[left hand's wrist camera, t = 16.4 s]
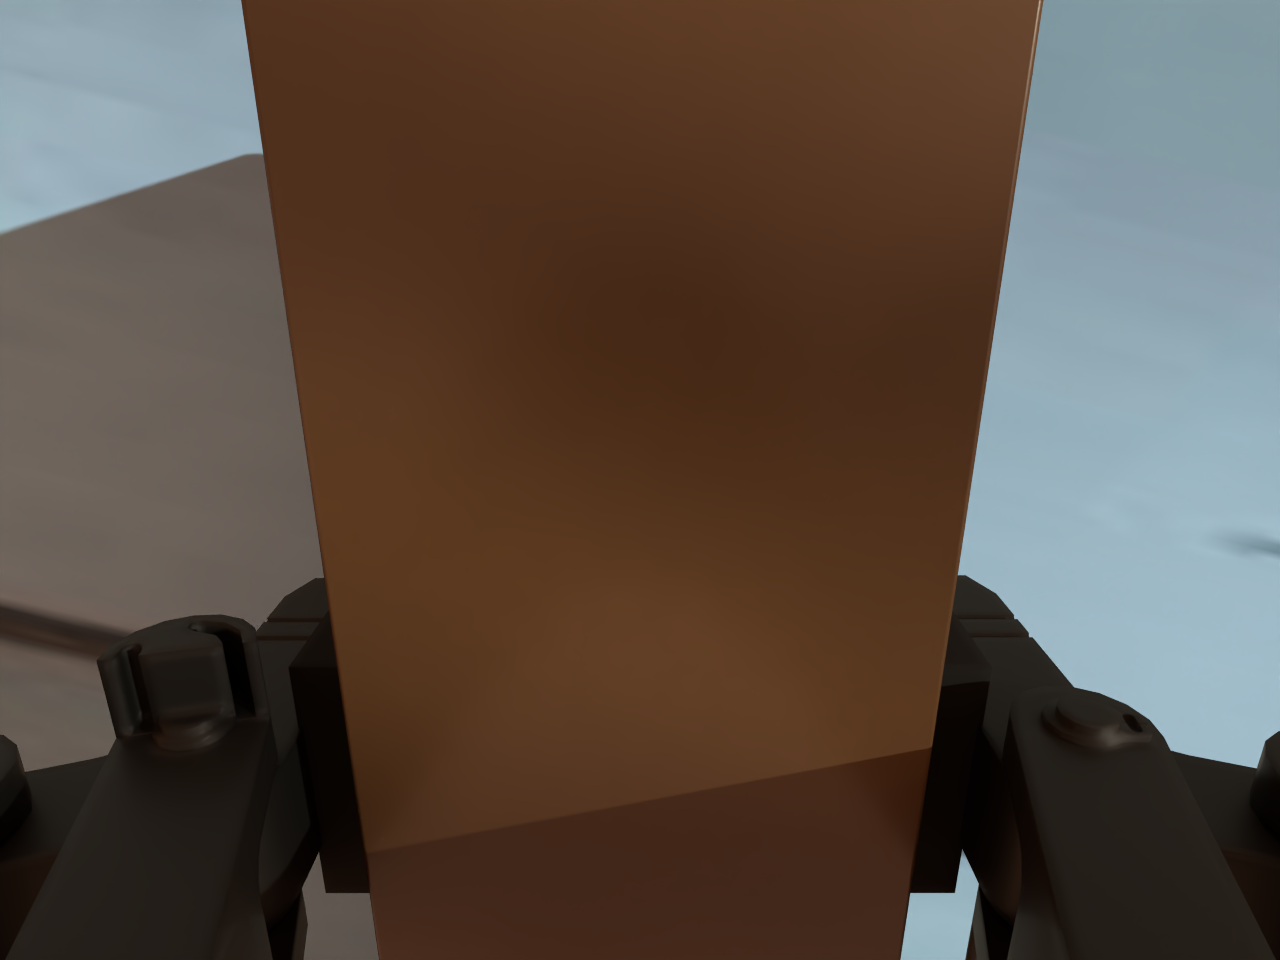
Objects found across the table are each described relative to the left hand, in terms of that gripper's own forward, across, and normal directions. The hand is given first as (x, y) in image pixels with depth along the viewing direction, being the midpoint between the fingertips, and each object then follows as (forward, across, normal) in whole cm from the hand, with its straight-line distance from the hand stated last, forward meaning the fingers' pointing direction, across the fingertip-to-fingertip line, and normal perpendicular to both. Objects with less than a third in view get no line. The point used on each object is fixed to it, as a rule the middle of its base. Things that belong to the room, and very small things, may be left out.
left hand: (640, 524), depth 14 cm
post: (+1, 0, -33) cm, 33 cm away
